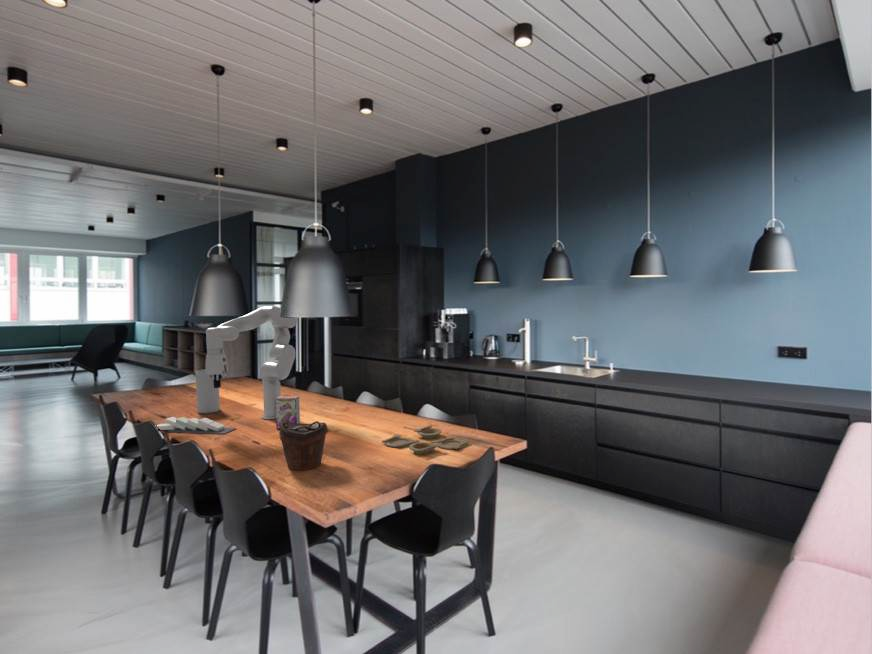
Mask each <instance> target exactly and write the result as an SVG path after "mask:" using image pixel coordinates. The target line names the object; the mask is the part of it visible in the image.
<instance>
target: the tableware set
mask: <svg viewBox="0 0 872 654" xmlns="http://www.w3.org/2000/svg"><path fill="white" fill-rule="evenodd" d="M412 431H413V432H415V433H417V434H418V435H419V436H421V437H422V439H425V440H426V439H427V440H432V441H430V442H429V441H421V440H419V439H415V440H414V439H413V438H410V437H406V436H405V437H403V436H402V434H394V435H393V436H391V437H388V438H386V439H383V440H381V443H382V444H384V445H385V446H386V447H387V448H388V447H390V448H405V447H408V448H409V450H410V451H413V452H414V453H415V454H416V455H428V454H430V453H431V452H432V451H433V450H435V449H436V448H440V449H443V450H460V449H463V448H465V447H466V446H467V444H469V443H470V441H469V440H465V441H464V440H462V439H456V438H455V437H454V436H451V437H447V438H446V437H445V438H441V439H436V438H437V437H438V435H440V434H442V430H441V429H440V428H436V427H433V424H429V425H427V426H423V427H421V428H415V429H413V430H412ZM433 439H434V440H433ZM435 439H436V440H435Z"/></svg>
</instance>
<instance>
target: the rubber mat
mask: <svg viewBox="0 0 872 654" xmlns="http://www.w3.org/2000/svg"><path fill="white" fill-rule="evenodd" d="M235 430H237V427H236V428H235V427H224V429H223V430H220V431H218V432H217V431H215V430H212V429H211V430H209V431H205V430H202V429H198V430H196V431H194V430H192V429H190V428H189V429H186V430H182V429H180V428H177V429H174V430H167V433H184V434H205V435H206V434H207V435H209V434H210V435H227V434H228V433H231V432H233V431H235Z"/></svg>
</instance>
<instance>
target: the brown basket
mask: <svg viewBox="0 0 872 654" xmlns="http://www.w3.org/2000/svg"><path fill="white" fill-rule="evenodd" d="M328 432H330V431H329V428H328V425H327V423H326V422H320V421H313V422H312V423H300V424H298V423H281V425H280V429H279V432H278V433H279V434H278V435H279V439H280V441H281V445H282V449H283V455H284V458H285V461H286V465H287V466H286V467H287V468H288V469H290V470H292V471H297V472H298V471H299V472H300V471H301V472H302V471H309V470H313V469H316V468H318V467H320V466H321V465H322V458H323V455H324V447H325V443H326V442H325V440H326V436H327V433H328Z"/></svg>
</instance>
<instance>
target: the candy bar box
mask: <svg viewBox="0 0 872 654" xmlns="http://www.w3.org/2000/svg"><path fill="white" fill-rule="evenodd" d="M275 401H276V419H275V420H276V421H275V422H276V423H275V424H276V427H275V428H276V430H280V425H281V423H298V424H301V415H300V413H301V412H300V410H301V409H300V396H281V397H277V398H275Z"/></svg>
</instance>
